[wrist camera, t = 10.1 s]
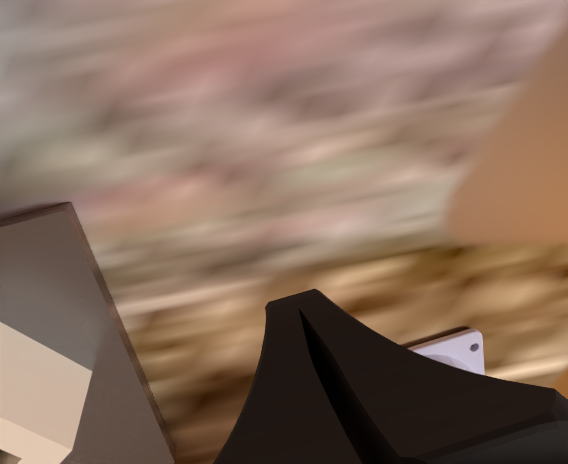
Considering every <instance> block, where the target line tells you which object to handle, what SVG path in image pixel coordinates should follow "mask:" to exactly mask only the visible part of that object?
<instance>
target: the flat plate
mask: <svg viewBox="0 0 568 464" xmlns="http://www.w3.org/2000/svg"><path fill="white" fill-rule="evenodd" d="M0 322H1V323H3V324H5V325H7V326H9V327H11V328H12V329H14V330H16V331H18V332H20V333H22V334H24V335H25V336H27V337H29V338H31V339H33V340H35V341H37V342H38V343H40V344H42V345H44V346H46V347H48V348H50V349H51V350H53V351H55V352H57V353H59V354H61V355H63V356H64V357H66V358H68V359H70V360H72V361H74V362H76V363H77V364H79V365H81V366H83V367H85V368H87V369H89V370H90V371H92V375H91V379H90V383H89V387H88V391H87V394H86V398H85V402H84V406H83V410H82V414H81V418H80V422H79V425H78V429H77V433H76V437H75V441H74V445H73V449H72V451H71V452H70V453H69V454H68V455H67V456H66V457H65V459H64V460H63V461H62V462H61V463H60V464H174V463H175V446H174V444H173V441H172V439H171V436H170V434H169V432H168V429H167V427H166V425H165V422H164V420H163V418H162V415H161V413H160V411H159V408H158V406H157V404H156V401H155V399H154V396H153V394H152V392H151V389H150V387H149V385H148V382H147V380H146V378H145V375H144V373H143V371H142V368H141V366H140V363H139V361H138V359H137V356H136V354H135V352H134V349H133V347H132V345H131V342H130V340H129V338H128V335H127V333H126V330H125V328H124V326H123V323H122V321H121V319H120V316H119V314H118V312H117V309H116V307H115V305H114V302H113V300H112V298H111V295H110V293H109V290H108V288H107V286H106V283H105V281H104V279H103V276H102V274H101V272H100V269H99V267H98V265H97V262H96V260H95V257H94V255H93V253H92V250H91V248H90V246H89V243H88V241H87V239H86V236H85V234H84V232H83V229H82V227H81V224H80V222H79V220H78V217H77V215H76V213H75V210H74V208H73V206H72V203H71V202H69V203H65V204H61V205H57V206H54V207H50V208H46V209H42V210H38V211H35V212H31V213H27V214H23V215H19V216H16V217H12V218H8V219H4V220H1V221H0Z"/></svg>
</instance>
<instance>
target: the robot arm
mask: <svg viewBox="0 0 568 464" xmlns="http://www.w3.org/2000/svg"><path fill="white" fill-rule="evenodd" d="M265 310H266V326H265V335H264V340H263V346H262V351H261V356H260V359H259V363H258V367H257V370H256V374H255V377H254V381H253V383H252V386H251V389H250V392H249V395H248V397H247V400H246V402H245V405H244V407H243V409H242V412H241V414H240V416H239V418H238V420H237V422H236V424H235V426H234V428H233V430H232V432H231V434H230V436H229V438H228V440H227V441H226V443H225V445H224V446H223V448H222V450H221V451H220V453H219V455H218V456H217V458H216V459H215V461H214V463H213V464H568V399H566V398H565V397H564V396H562V395H561V394H560V393H559V392H558V391H557V390H555V389H553V388H547V387H541V386H535V385H529V384H524V383H518V382H512V381H506V380H502V379H497V378H493V377H489V376H485V375H484V358H483V340H482V334H481V333H480V332H479V331H478V330H477V329H474V328H472V329H467V330H464V331H461V332H458V333H454V334H451V335H448V336H445V337H441V338H438V339H435V340H432V341H428V342H425V343H422V344H419V345H415V346H412V347H409V348H405V347H403V346H401V345H398V344H396V343H395V342H393V341H391V340H389V339H387V338H385V337H384V336H382V335H380V334H379V333H377V332H375V331H373V330H372V329H370V328H369V327H367V326H366V325H364V324H363V323H361V322H360V321H358V320H357V319H355V318H354V317H352V316H351V315H349V314H348V313H347V312H345V311H344V310H342V309H341V308H340V307H339V306H337V305H336V304H335V303H333V302H332V301H331V300H330V299H328V298H327V297H326V296H325V295H324V294H323V293H321V292H320V291H319V290H317V289H312V290H308V291H305V292H302V293H298V294H295V295H291V296H288V297H284V298H281V299H278V300H274V301H271V302H268V304H267V305H266V307H265ZM473 344H474V345H473ZM471 345H473V346H472V347H471Z"/></svg>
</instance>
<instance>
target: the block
mask: <svg viewBox="0 0 568 464" xmlns="http://www.w3.org/2000/svg"><path fill="white" fill-rule="evenodd" d="M91 375H92V371H90V370H89V369H87V368H85V367H83V366H81V365H79V364H77V363H76V362H74V361H72V360H70V359H68V358H66V357H64V356H63V355H61V354H59V353H57V352H55V351H53V350H51V349H50V348H48V347H46V346H44V345H42V344H40V343H38V342H37V341H35V340H33V339H31V338H29V337H27V336H25V335H24V334H22V333H20V332H18V331H16V330H14V329H12V328H11V327H9V326H7V325H5V324H3V323H1V322H0V464H60V463H61V462H62V461H63V460H64V459H65V457H66V456H67V455H68V454H69V453H70V452H71V451H72V449H73V445H74V441H75V437H76V433H77V429H78V425H79V422H80V418H81V414H82V410H83V406H84V402H85V398H86V394H87V391H88V387H89V383H90V379H91Z"/></svg>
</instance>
